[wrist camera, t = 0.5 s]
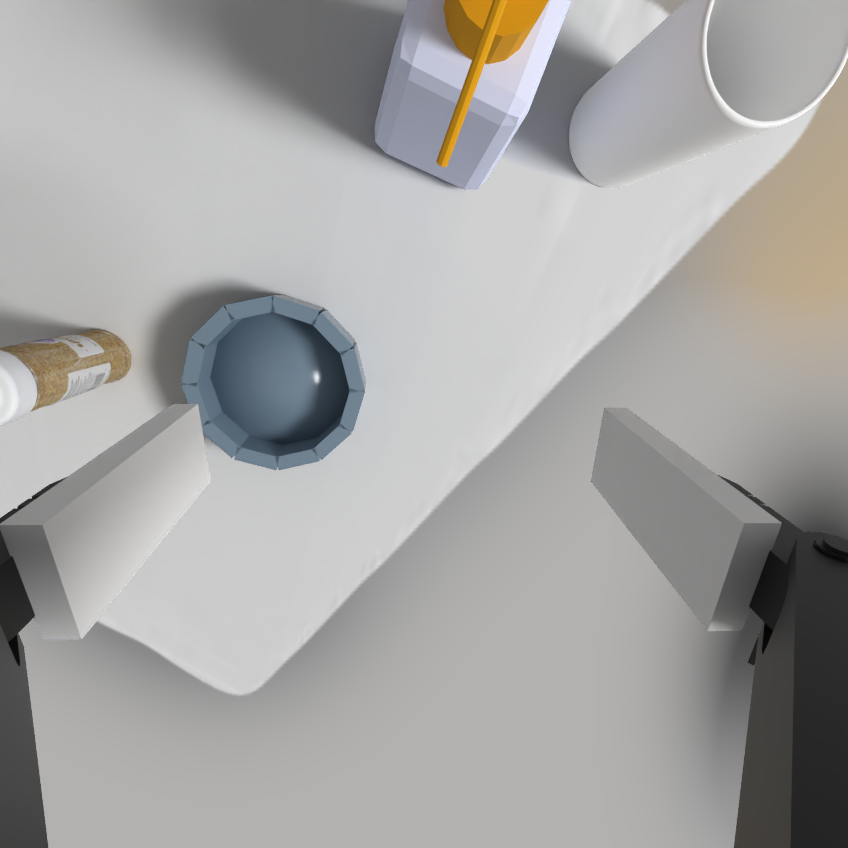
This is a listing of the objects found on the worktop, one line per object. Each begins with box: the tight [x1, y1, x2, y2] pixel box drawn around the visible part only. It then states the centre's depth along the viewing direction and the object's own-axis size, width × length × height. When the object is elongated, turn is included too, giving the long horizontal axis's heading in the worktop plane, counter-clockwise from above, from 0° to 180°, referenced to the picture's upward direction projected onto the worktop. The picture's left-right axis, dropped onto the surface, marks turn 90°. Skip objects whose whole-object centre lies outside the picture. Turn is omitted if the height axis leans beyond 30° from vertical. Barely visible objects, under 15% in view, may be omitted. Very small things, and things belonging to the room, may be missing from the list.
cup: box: [569, 0, 848, 188], centre depth 30 cm, size 8×8×16 cm
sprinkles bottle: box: [0, 330, 131, 426], centre depth 32 cm, size 5×5×14 cm
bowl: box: [181, 294, 365, 470], centre depth 39 cm, size 14×14×4 cm
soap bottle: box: [375, 0, 571, 189], centre depth 26 cm, size 10×14×22 cm
